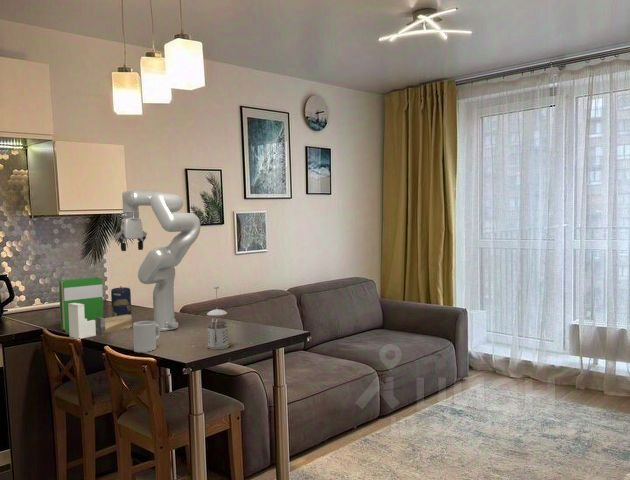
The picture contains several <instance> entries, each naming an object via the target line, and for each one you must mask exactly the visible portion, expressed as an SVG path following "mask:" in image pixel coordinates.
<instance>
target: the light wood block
mask: <svg viewBox="0 0 630 480" xmlns="http://www.w3.org/2000/svg"><path fill="white" fill-rule="evenodd" d="M131 315H132V314H131ZM131 315H127V314H126V315H120V316H115V317H112V316H111V317H110V316H109V317H105V318H101V317H96V327H97V328H96V334H101V333H102V334H106V332H107V333H111V331H112V332H116V330H117V331H120V329H122V330H125V329H124V328H127V329H130V327H132V328H133V321H132V318H133V317H131Z"/></svg>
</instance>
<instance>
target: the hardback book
mask: <svg viewBox="0 0 630 480" xmlns="http://www.w3.org/2000/svg"><path fill="white" fill-rule="evenodd" d="M58 290H59V291H58V292H59V315H60V317H59V318H60V319H59V320H60V331H61V332H63V331H64V333H65V334H67V333H69V310H68V304H70V303H79V304H84V314H85V319H87V321H91V320H95V327H96V317H101V318H104V295H103V292H104V291H103V278H102V277H98V276H97V277H96V276H95V277H83V278H73V279H72V278H71V279H60V280H58ZM96 329H97V327H96Z"/></svg>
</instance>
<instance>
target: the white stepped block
mask: <svg viewBox="0 0 630 480" xmlns="http://www.w3.org/2000/svg"><path fill="white" fill-rule="evenodd" d="M68 310H69V332H68V333H69V338H72V337H75V338H74V339H77V338H80V339H85V338H90V337H95V336H97V328H96V327H95V320H91V321H87V319H85V314H84V304H79V303H70V304H68ZM80 339H79V340H80Z"/></svg>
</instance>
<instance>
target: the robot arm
mask: <svg viewBox="0 0 630 480" xmlns="http://www.w3.org/2000/svg"><path fill="white" fill-rule="evenodd" d="M139 206H140V207H141V206H143V207H145V206H146V207H149V206H150V208H151V209H152V212H153V214H154V216H155V218H156V219H157V221H158V223H159V225H160V226H161V227H162V229H163V230H164V231H166V232H169V233H175V232H176V233H178V232H179V233H178V234H177V235H175V236H174V237H173V238H172V240H171V241H170V243H169V244H168V245H167V246H164V247H163V246H162V247H155V248H152V249H151V250H150V251H148V253H147V254H146V256H145V258H144V260H143V261H142V263H141V264H140V266H139V268H138V271H137V277H138V280H139V282H140V283H141V284H143V285H153V284H155V285H154V288H153V291H152V304H153V305H152V307H153V308H152V309H153V321H154V322H155V324H157V325H159V328H160V332H165V331H172V330H176V329H178V328H179V321H178V322H177V320H176V318H175V294H174V293H175V290H174V289H175V288H174V287H175V284H174V283H175V278H176V267H177V266H179V264H180V263H181V262H182V261H183V258H184V257H185V256H186V254H187V253H188V251H189V249H190V248H191V246H192V245H193V244H194V243H195V242H196V240H197V239H198V237H199V235H200V231H201V221H200V218H199V217H198V216H197V215H196V214H195V213H190V212H179V211H181V210H182V208H183V207H184V201H183V198H182V197H181V196H180V195H178V194H175V193H168V192H162V191H156V190H148V189H147V190H146V189H144V190H142V189H141V190H140V189H139V190H137V189H135V190H130V191H123V192H122V213H121V214H120V217H122V219H121V224H120V231H119V232H117V233H116V234H115V237H116V240H117V241H118V242H119V244H120V251H122V252H126V251H127V243H126V241H127V240H132V239H133V240H135V239H136V240H137V241H138V242H137V250H139V251H143V250H144V242H145V240H146V239H147V236H148V233H147V232H146V231H144V229H143V223H142V220H141V218H140V210H139V209H140V207H139ZM155 330H156V332H157V329H156V328H155Z"/></svg>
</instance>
